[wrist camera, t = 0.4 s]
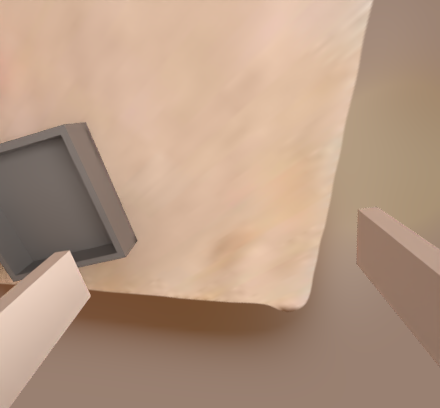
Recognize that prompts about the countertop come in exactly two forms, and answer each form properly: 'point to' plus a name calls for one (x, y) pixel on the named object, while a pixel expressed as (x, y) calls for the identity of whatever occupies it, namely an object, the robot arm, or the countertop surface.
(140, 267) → the countertop surface
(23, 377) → the robot arm
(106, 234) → the bin
